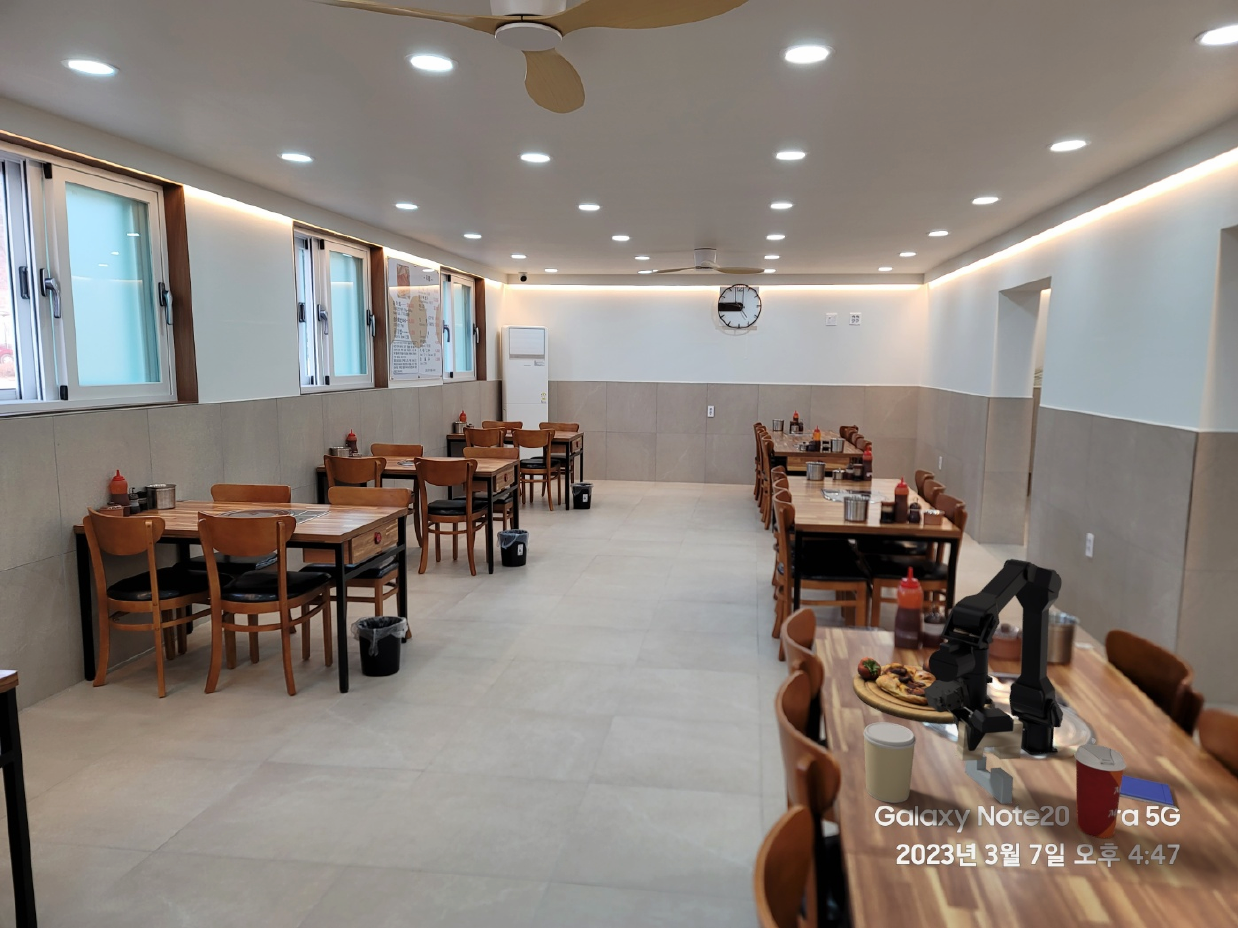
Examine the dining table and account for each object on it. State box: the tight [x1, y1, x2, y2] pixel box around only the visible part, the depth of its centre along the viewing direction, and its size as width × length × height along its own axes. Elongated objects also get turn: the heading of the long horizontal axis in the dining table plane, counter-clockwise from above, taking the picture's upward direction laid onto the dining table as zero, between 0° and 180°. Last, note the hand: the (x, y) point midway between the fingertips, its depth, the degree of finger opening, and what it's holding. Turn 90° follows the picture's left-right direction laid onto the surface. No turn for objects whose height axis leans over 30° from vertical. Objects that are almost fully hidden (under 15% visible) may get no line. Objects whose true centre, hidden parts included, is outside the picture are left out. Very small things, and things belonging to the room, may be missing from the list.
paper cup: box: [1073, 743, 1127, 839], centre depth 138 cm, size 8×8×14 cm
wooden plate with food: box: [852, 655, 991, 724], centre depth 197 cm, size 32×32×8 cm
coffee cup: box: [863, 721, 917, 804], centre depth 150 cm, size 9×9×12 cm
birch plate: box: [955, 718, 1023, 762], centre depth 152 cm, size 12×2×7 cm, turn 98°
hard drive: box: [1120, 774, 1174, 808], centre depth 152 cm, size 2×8×12 cm
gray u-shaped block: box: [964, 753, 1014, 805], centre depth 152 cm, size 2×12×5 cm, turn 8°
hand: (967, 747), depth 151 cm, fingers closed on birch plate, 2 cm apart
